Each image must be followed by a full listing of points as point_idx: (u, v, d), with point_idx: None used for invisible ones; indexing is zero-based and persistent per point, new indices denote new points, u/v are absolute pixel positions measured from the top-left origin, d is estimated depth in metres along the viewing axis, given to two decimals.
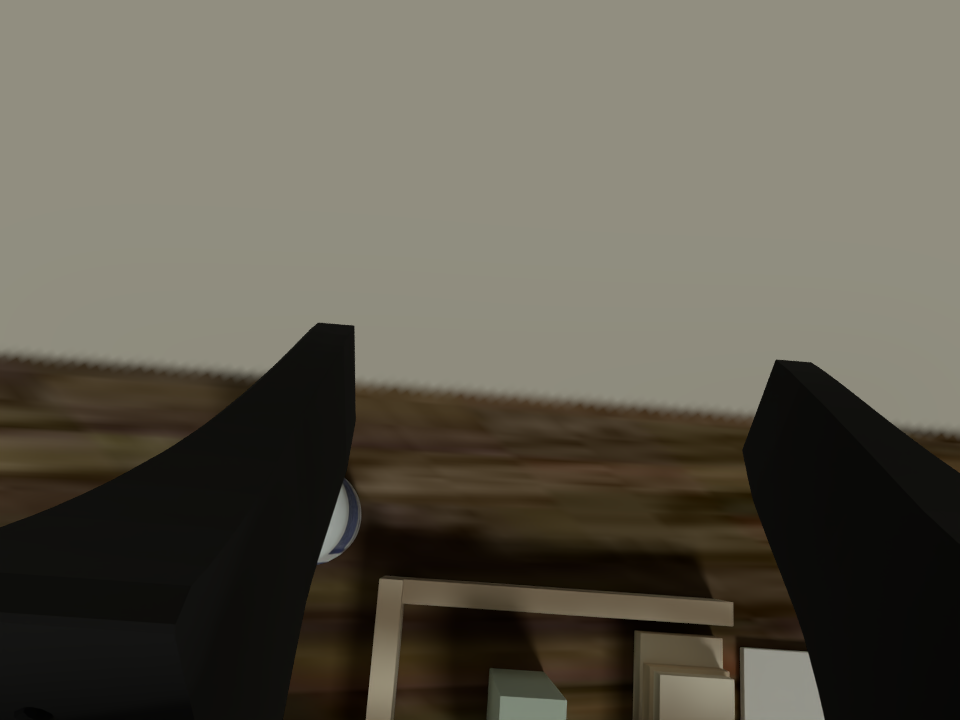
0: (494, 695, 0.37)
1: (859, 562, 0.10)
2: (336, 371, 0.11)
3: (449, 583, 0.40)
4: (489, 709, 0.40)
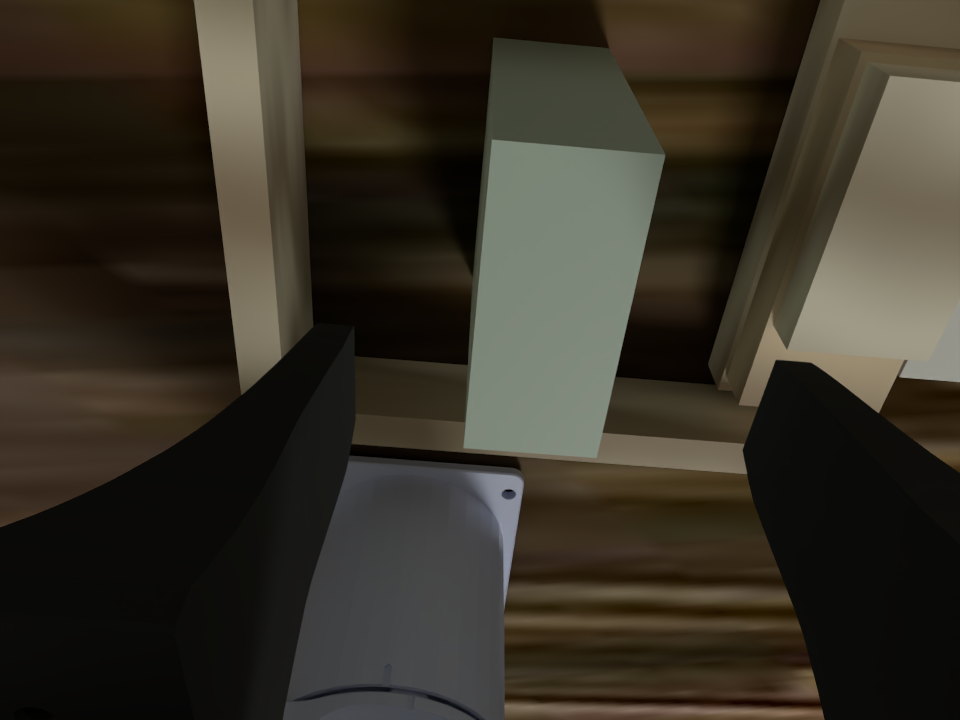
0: (490, 114, 0.16)
1: (859, 562, 0.10)
2: (336, 371, 0.11)
3: None
4: None
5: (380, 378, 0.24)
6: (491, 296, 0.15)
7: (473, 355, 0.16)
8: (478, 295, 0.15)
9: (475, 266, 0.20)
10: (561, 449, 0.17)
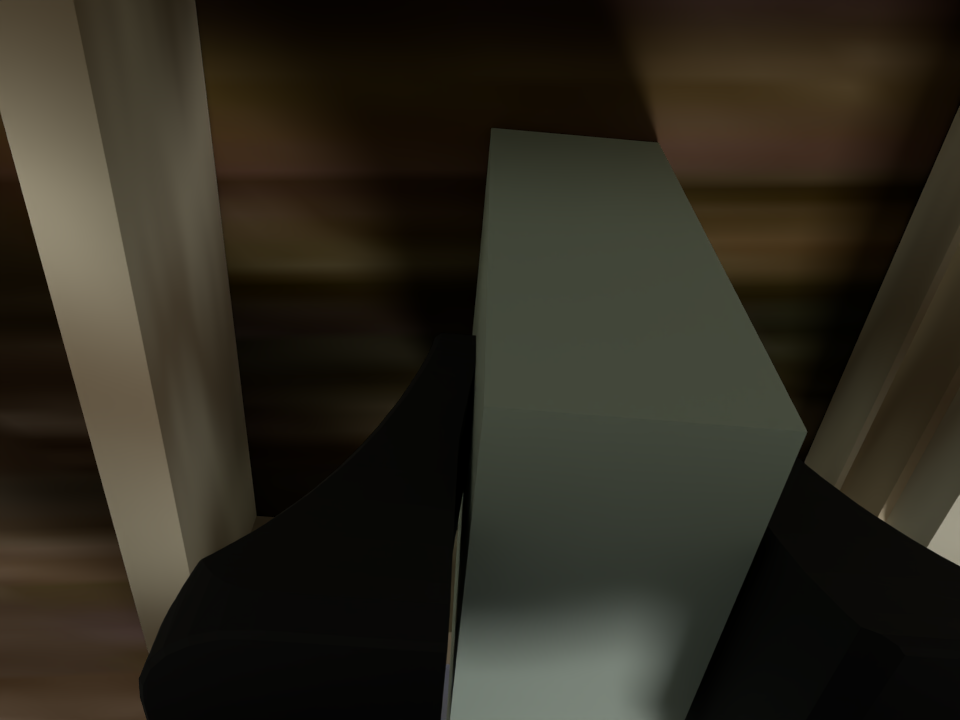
0: (484, 282, 0.10)
1: None
2: (473, 382, 0.11)
3: None
4: None
5: None
6: (484, 619, 0.09)
7: (455, 688, 0.10)
8: (462, 616, 0.09)
9: None
10: None
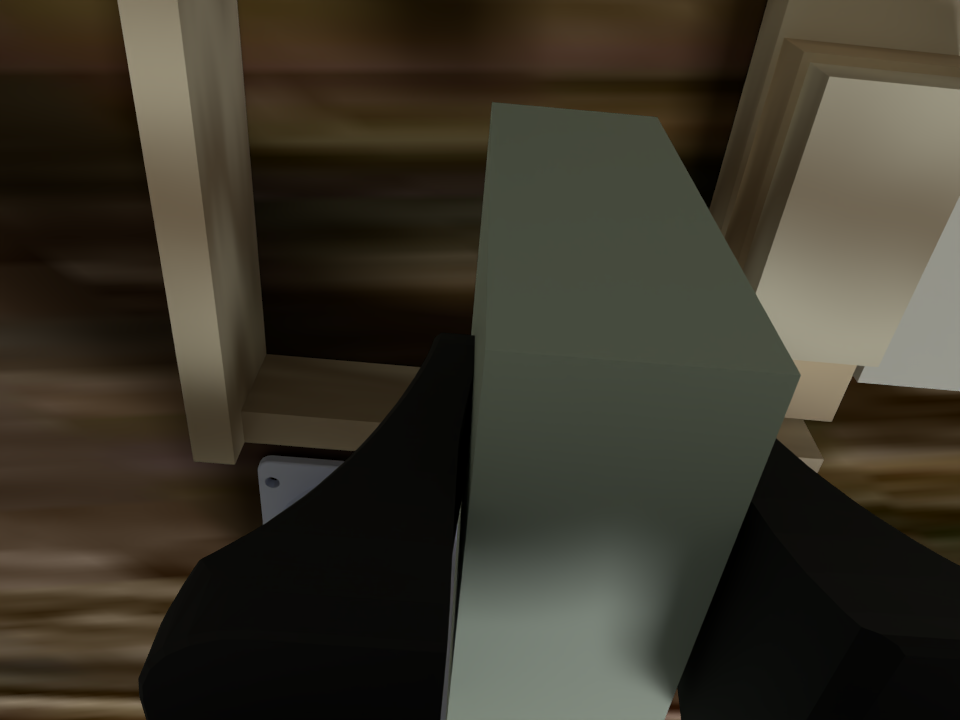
0: (485, 245, 0.10)
1: None
2: None
3: None
4: None
5: (331, 379, 0.24)
6: (485, 569, 0.09)
7: (457, 641, 0.10)
8: (464, 567, 0.09)
9: None
10: None
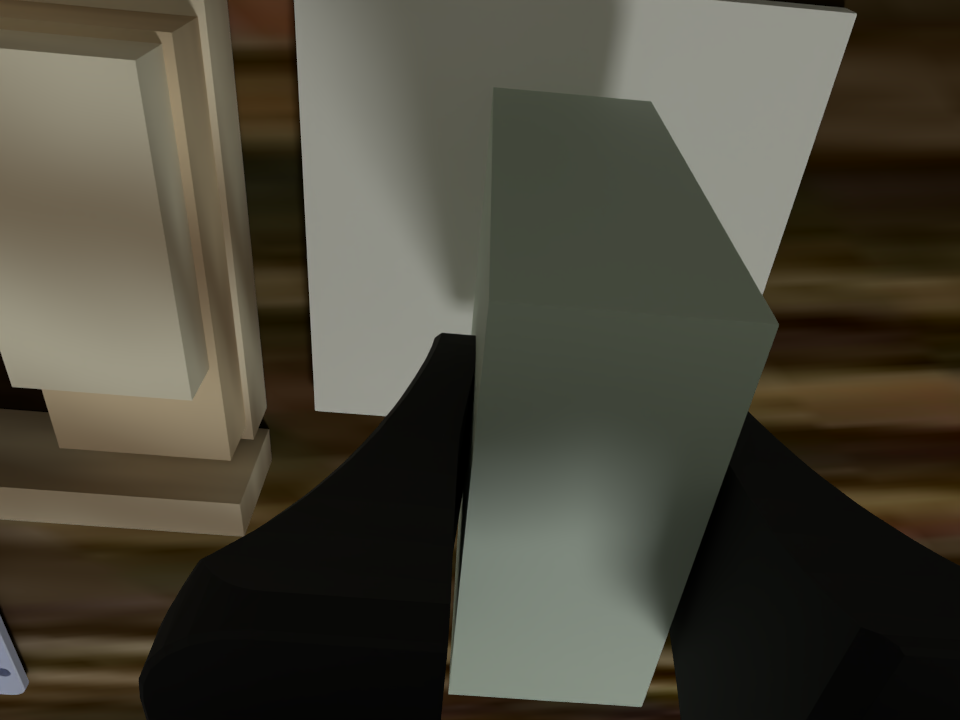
0: (487, 216, 0.11)
1: (706, 551, 0.10)
2: (473, 382, 0.11)
3: None
4: None
5: None
6: (488, 515, 0.10)
7: (461, 587, 0.10)
8: (468, 513, 0.10)
9: None
10: (590, 696, 0.12)
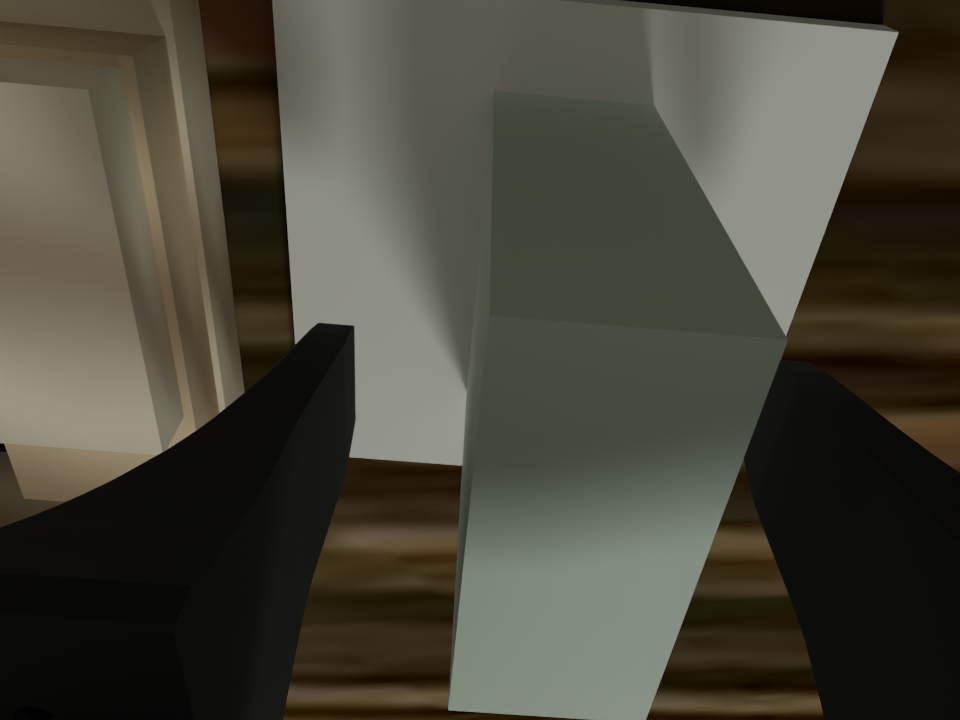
0: (488, 225, 0.11)
1: (859, 562, 0.10)
2: (336, 371, 0.11)
3: None
4: (484, 220, 0.14)
5: None
6: (489, 531, 0.09)
7: (461, 603, 0.10)
8: (468, 529, 0.09)
9: (468, 407, 0.14)
10: (592, 712, 0.11)
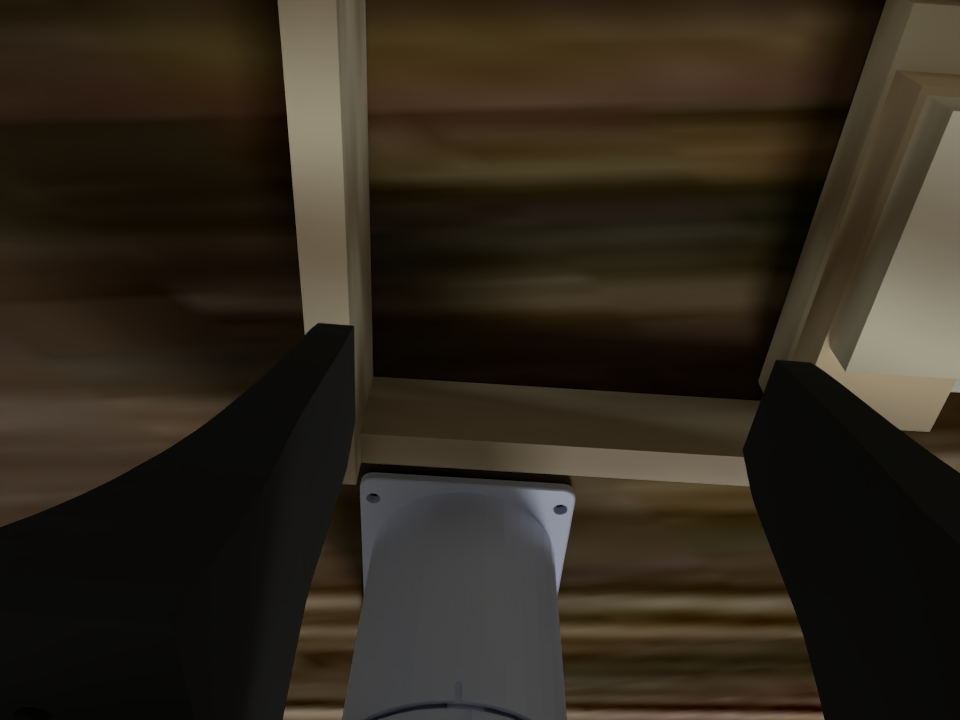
0: None
1: (859, 562, 0.10)
2: (336, 371, 0.11)
3: None
4: None
5: (438, 400, 0.25)
6: None
7: None
8: None
9: None
10: None
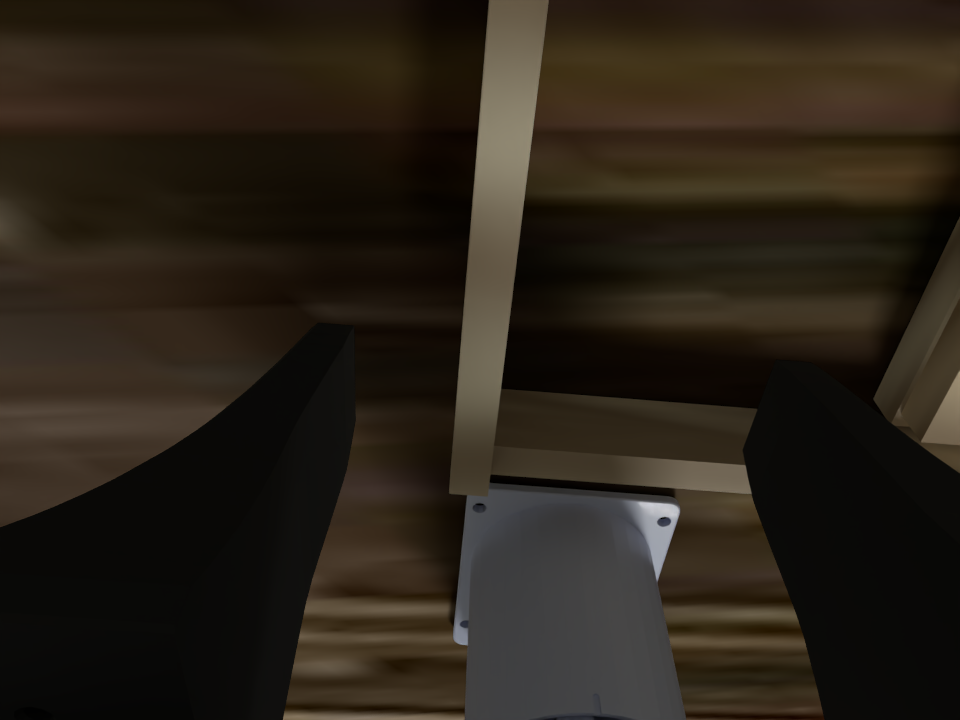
0: None
1: (859, 562, 0.10)
2: (336, 371, 0.11)
3: None
4: None
5: (561, 413, 0.25)
6: None
7: None
8: None
9: None
10: None
